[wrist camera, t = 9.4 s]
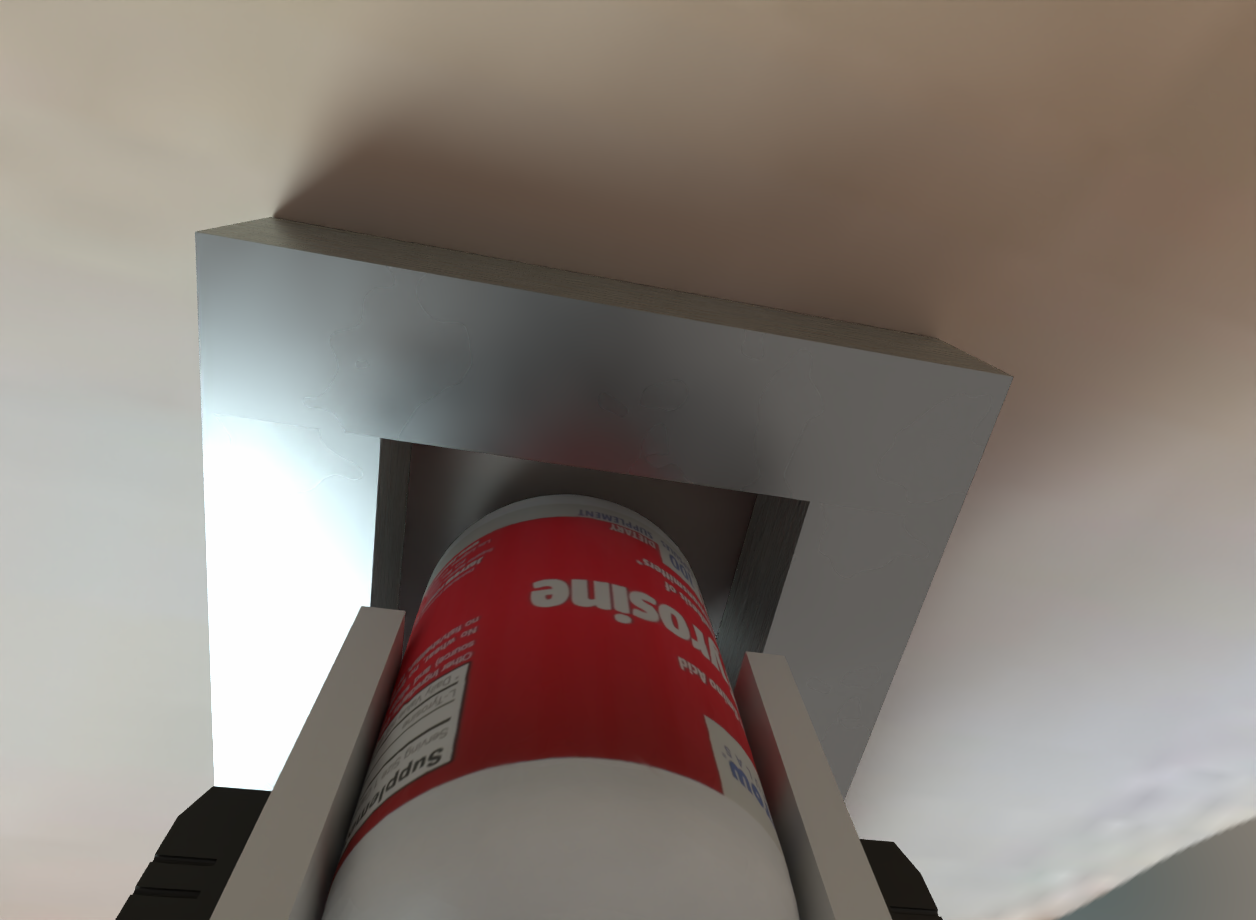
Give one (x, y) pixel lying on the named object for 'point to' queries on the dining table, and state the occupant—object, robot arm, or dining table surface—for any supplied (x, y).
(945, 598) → the dining table surface
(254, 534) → the rosette post
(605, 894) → the pill bottle
